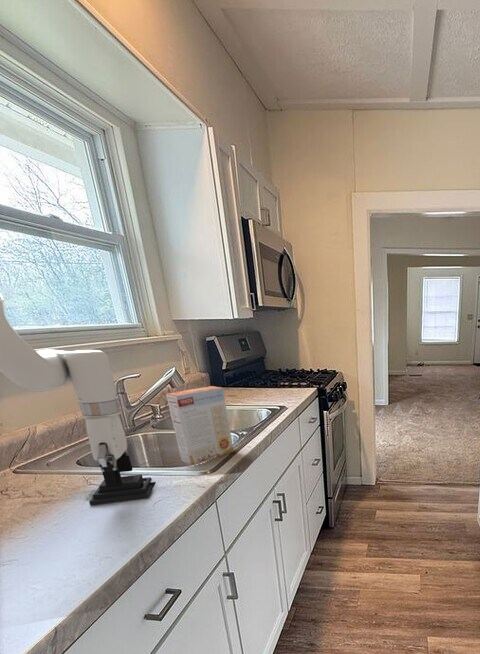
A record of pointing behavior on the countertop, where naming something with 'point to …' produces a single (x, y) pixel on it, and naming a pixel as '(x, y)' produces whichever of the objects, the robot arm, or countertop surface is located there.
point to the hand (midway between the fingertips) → (120, 478)
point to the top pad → (124, 484)
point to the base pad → (123, 494)
